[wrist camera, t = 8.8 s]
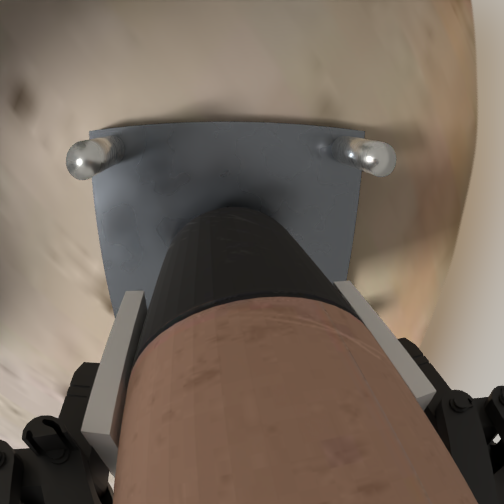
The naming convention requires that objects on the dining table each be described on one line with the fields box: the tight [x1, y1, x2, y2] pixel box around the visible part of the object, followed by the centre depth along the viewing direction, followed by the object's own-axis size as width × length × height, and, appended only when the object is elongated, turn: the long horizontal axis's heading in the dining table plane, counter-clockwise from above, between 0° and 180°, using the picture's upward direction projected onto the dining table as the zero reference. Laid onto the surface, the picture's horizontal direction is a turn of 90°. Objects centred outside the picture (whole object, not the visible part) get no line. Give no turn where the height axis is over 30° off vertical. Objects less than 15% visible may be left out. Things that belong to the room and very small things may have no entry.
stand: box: [66, 122, 396, 318], centre depth 16 cm, size 15×15×6 cm
